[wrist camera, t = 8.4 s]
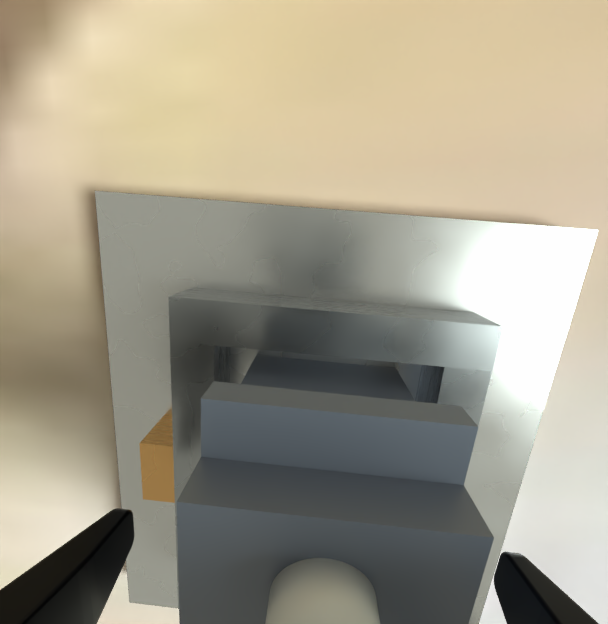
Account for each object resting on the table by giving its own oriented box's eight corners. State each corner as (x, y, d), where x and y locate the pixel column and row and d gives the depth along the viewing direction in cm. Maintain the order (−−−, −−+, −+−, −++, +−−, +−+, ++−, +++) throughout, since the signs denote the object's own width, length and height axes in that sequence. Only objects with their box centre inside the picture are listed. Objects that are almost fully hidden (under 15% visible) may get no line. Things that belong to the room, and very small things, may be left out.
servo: (362, 566, 11) (411, 943, 5) (247, 552, 12) (165, 906, 5) (401, 334, 9) (562, 528, 3) (258, 321, 9) (139, 481, 3)
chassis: (461, 613, 13) (493, 699, 11) (143, 576, 14) (104, 650, 11) (568, 230, 9) (657, 228, 7) (117, 195, 10) (49, 181, 7)
